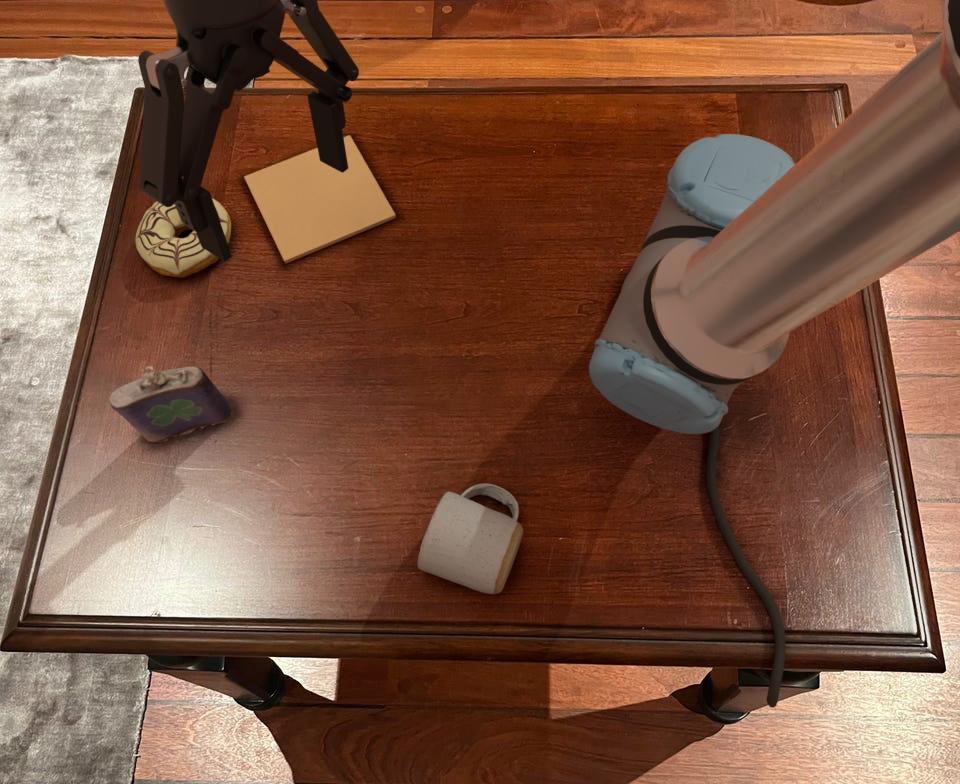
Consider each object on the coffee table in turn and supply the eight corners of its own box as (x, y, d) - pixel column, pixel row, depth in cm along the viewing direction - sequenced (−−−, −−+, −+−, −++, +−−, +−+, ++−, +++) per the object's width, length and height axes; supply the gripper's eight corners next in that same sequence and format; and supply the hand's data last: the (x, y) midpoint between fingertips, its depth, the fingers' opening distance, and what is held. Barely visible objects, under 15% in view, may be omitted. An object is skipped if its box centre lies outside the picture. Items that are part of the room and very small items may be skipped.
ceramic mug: (500, 607, 74) (501, 588, 67) (419, 577, 76) (411, 556, 69) (536, 504, 79) (540, 477, 72) (458, 478, 80) (455, 448, 73)
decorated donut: (125, 252, 93) (110, 232, 90) (191, 193, 97) (180, 172, 93) (187, 297, 90) (174, 278, 87) (253, 234, 94) (243, 214, 90)
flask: (147, 447, 82) (100, 403, 73) (143, 422, 84) (96, 376, 74) (235, 420, 83) (200, 373, 74) (230, 396, 85) (194, 347, 75)
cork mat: (396, 218, 94) (395, 214, 94) (285, 264, 92) (284, 261, 91) (350, 138, 100) (349, 134, 99) (245, 179, 97) (243, 176, 97)
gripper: (306, -141, 57) (346, 117, 74) (-5, 5, 45) (129, 272, 62) (386, -113, 54) (408, 148, 71) (78, 50, 42) (193, 315, 60)
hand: (278, 206), depth 67 cm, fingers open, 13 cm apart
